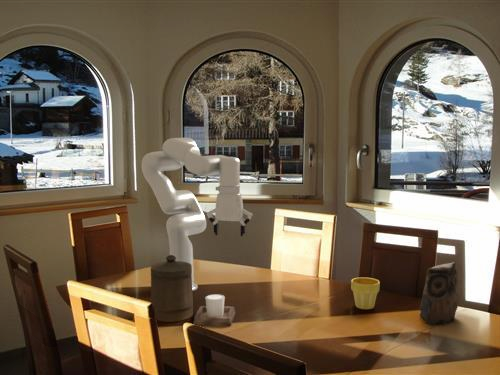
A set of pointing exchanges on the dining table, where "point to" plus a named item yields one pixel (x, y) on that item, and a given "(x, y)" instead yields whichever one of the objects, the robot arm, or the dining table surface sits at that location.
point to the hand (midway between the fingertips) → (229, 235)
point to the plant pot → (365, 292)
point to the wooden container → (172, 290)
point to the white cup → (215, 305)
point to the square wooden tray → (214, 321)
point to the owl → (440, 295)
